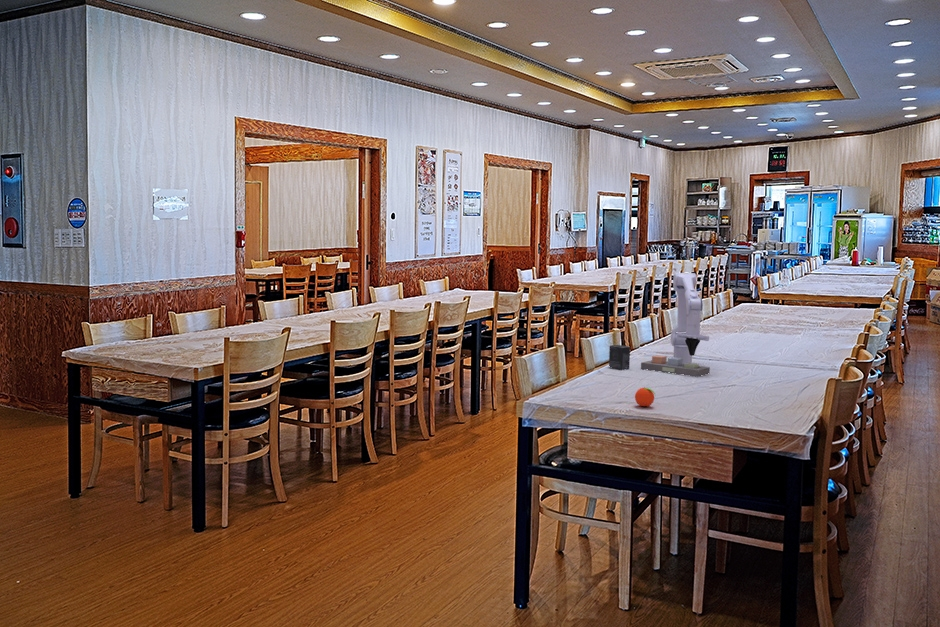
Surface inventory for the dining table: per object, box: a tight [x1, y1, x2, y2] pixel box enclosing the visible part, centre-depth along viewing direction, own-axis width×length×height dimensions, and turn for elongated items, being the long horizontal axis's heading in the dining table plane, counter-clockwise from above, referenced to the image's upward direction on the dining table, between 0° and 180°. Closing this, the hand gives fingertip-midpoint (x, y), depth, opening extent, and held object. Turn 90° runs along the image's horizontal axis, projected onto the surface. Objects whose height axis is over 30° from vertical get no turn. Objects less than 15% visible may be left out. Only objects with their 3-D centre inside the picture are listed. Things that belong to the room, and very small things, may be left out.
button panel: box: [640, 359, 711, 377], centre depth 377 cm, size 12×28×3 cm, turn 49°
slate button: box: [667, 356, 683, 366], centre depth 377 cm, size 5×5×4 cm
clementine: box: [634, 386, 656, 407], centre depth 300 cm, size 8×7×7 cm
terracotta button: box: [651, 354, 668, 364], centre depth 382 cm, size 5×5×4 cm
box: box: [608, 344, 631, 371], centre depth 382 cm, size 8×6×11 cm
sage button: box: [684, 362, 700, 369], centre depth 372 cm, size 5×5×4 cm
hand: (691, 355), depth 372 cm, fingers closed
